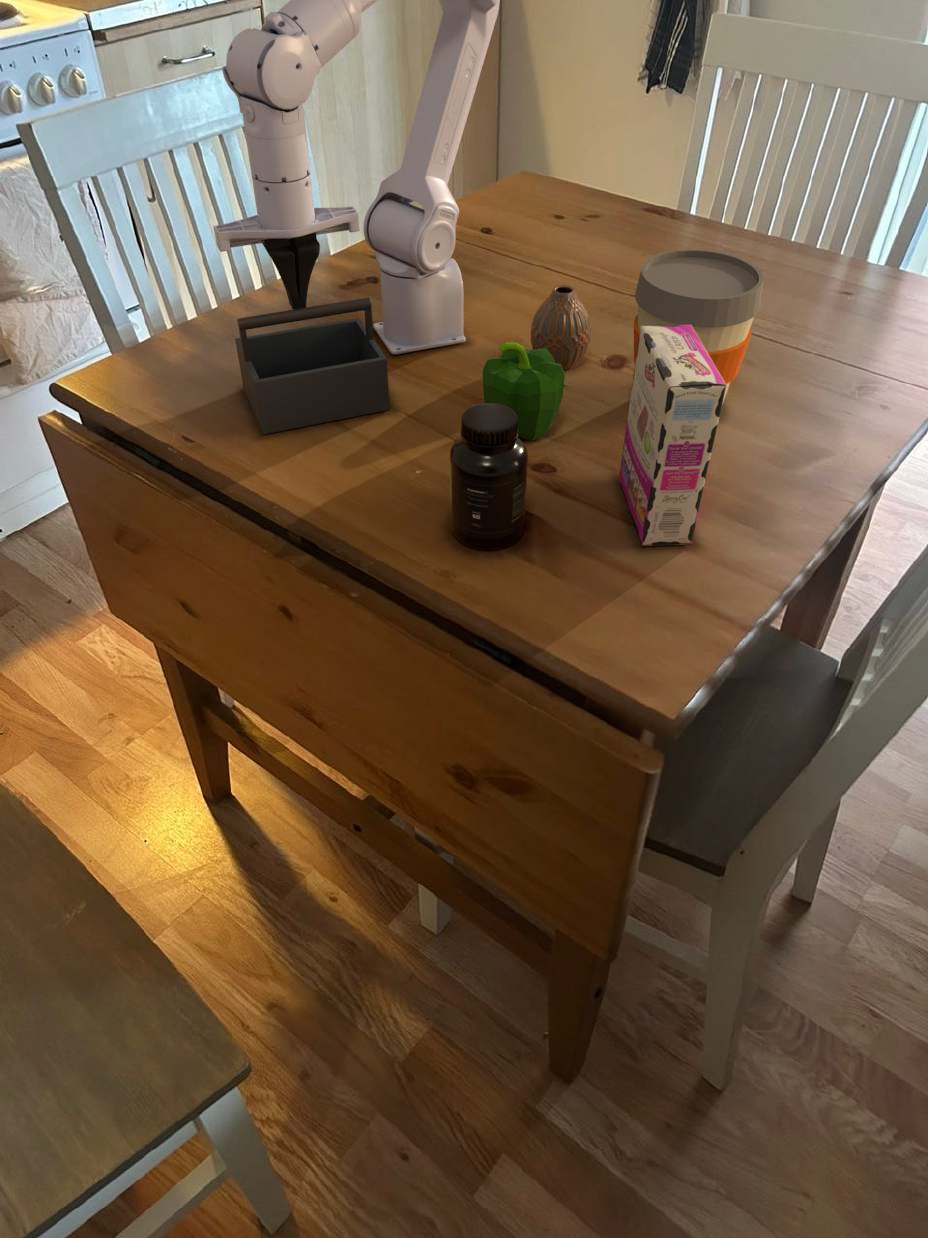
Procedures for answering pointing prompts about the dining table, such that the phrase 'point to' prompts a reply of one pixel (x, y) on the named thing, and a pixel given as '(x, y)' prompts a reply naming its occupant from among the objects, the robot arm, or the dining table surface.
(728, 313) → the reusable coffee cup
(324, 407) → the grey tool caddy
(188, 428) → the dining table surface
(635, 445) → the candy bar box
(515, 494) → the supplement bottle
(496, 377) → the bell pepper
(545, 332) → the vase
